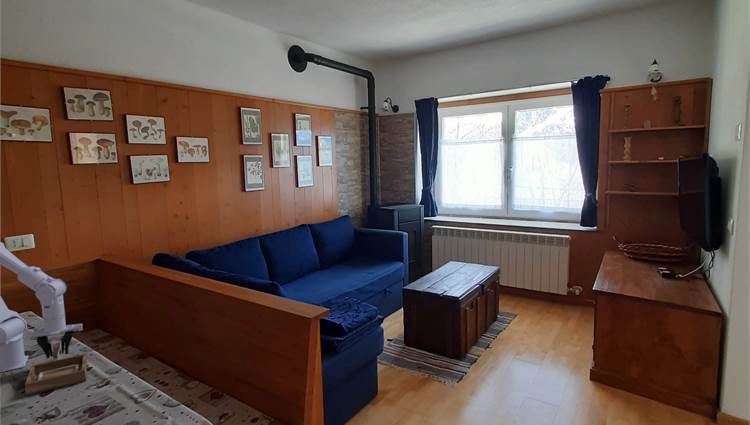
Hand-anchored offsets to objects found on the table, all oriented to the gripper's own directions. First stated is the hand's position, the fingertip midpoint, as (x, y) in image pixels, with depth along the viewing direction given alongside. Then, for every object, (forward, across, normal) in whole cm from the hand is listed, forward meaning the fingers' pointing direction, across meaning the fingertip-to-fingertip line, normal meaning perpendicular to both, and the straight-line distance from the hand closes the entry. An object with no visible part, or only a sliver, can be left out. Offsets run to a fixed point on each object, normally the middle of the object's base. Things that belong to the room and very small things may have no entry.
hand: (57, 355), depth 132 cm
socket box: (+3, +1, -13) cm, 13 cm away
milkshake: (+3, 0, 0) cm, 3 cm away
